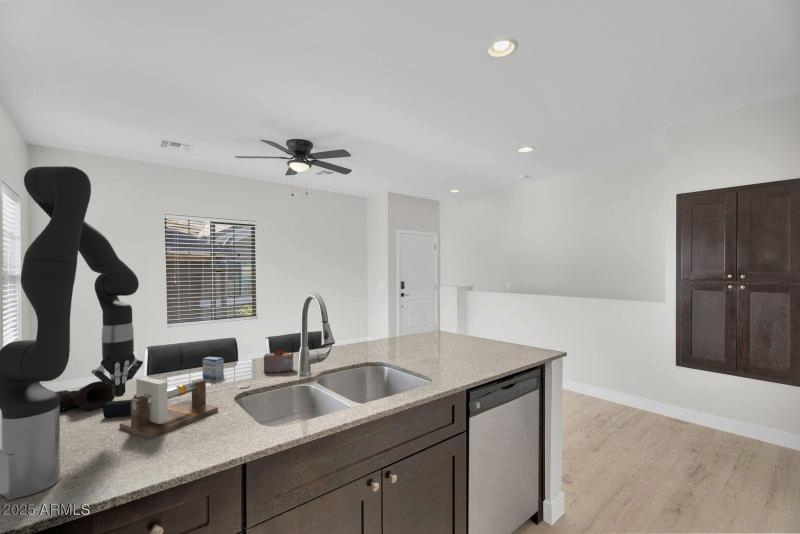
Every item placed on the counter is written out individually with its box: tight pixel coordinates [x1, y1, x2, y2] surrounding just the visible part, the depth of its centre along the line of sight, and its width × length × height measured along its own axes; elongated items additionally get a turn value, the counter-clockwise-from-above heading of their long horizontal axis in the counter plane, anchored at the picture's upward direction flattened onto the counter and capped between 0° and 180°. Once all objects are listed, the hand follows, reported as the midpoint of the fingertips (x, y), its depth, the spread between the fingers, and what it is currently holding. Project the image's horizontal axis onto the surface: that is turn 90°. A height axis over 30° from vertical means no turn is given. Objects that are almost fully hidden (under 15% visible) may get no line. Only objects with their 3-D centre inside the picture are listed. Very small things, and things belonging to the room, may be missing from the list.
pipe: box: [55, 380, 115, 412], centre depth 128 cm, size 10×15×15 cm
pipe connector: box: [102, 394, 136, 418], centre depth 126 cm, size 12×5×15 cm
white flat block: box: [135, 376, 168, 424], centre depth 112 cm, size 2×12×12 cm, turn 63°
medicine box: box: [202, 356, 225, 379], centre depth 163 cm, size 8×4×9 cm, turn 73°
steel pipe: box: [131, 381, 197, 410], centre depth 118 cm, size 22×3×3 cm, turn 153°
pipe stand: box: [119, 378, 219, 440], centre depth 118 cm, size 22×16×10 cm
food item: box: [263, 349, 294, 373], centre depth 172 cm, size 14×8×10 cm, turn 102°
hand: (119, 395), depth 108 cm, fingers closed
